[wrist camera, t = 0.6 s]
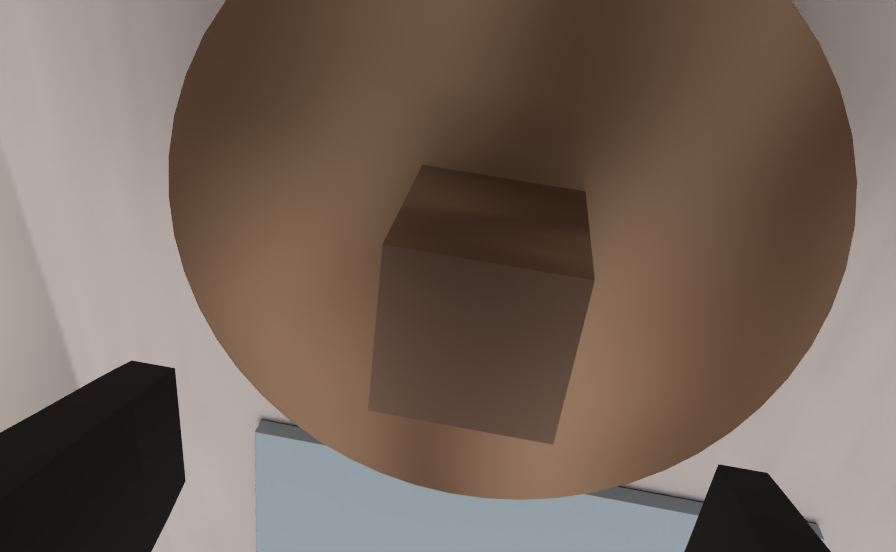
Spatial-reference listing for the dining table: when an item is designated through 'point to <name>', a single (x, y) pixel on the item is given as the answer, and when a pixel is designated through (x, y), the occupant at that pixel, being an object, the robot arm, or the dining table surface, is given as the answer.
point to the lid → (513, 226)
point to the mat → (440, 510)
